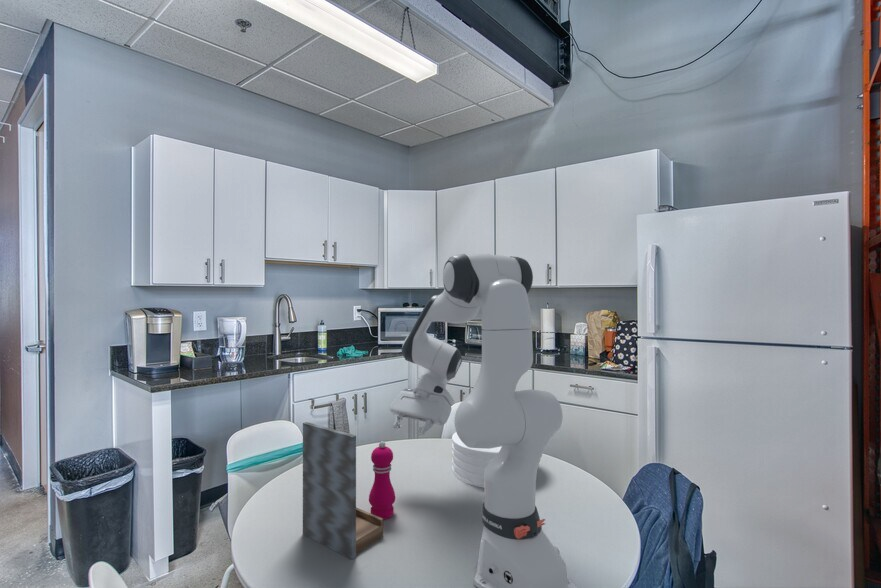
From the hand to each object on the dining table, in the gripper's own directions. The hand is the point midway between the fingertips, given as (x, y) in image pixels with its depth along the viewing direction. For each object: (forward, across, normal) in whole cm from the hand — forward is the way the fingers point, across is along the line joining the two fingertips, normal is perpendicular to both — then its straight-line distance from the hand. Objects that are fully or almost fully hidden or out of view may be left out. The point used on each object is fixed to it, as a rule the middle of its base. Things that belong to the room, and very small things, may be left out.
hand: (407, 431), depth 131 cm
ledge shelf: (+31, 0, -3) cm, 31 cm away
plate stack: (-9, +10, +38) cm, 40 cm away
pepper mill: (+22, 0, +7) cm, 23 cm away
